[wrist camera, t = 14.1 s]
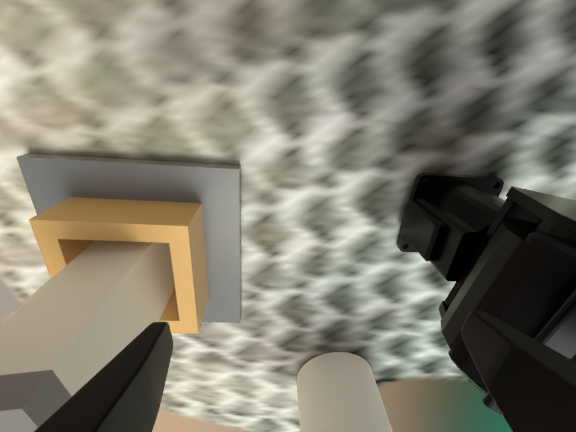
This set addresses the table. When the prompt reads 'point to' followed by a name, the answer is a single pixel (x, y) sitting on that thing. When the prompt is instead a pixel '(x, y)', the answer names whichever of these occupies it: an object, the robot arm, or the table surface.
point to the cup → (339, 395)
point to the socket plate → (146, 223)
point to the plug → (78, 326)
